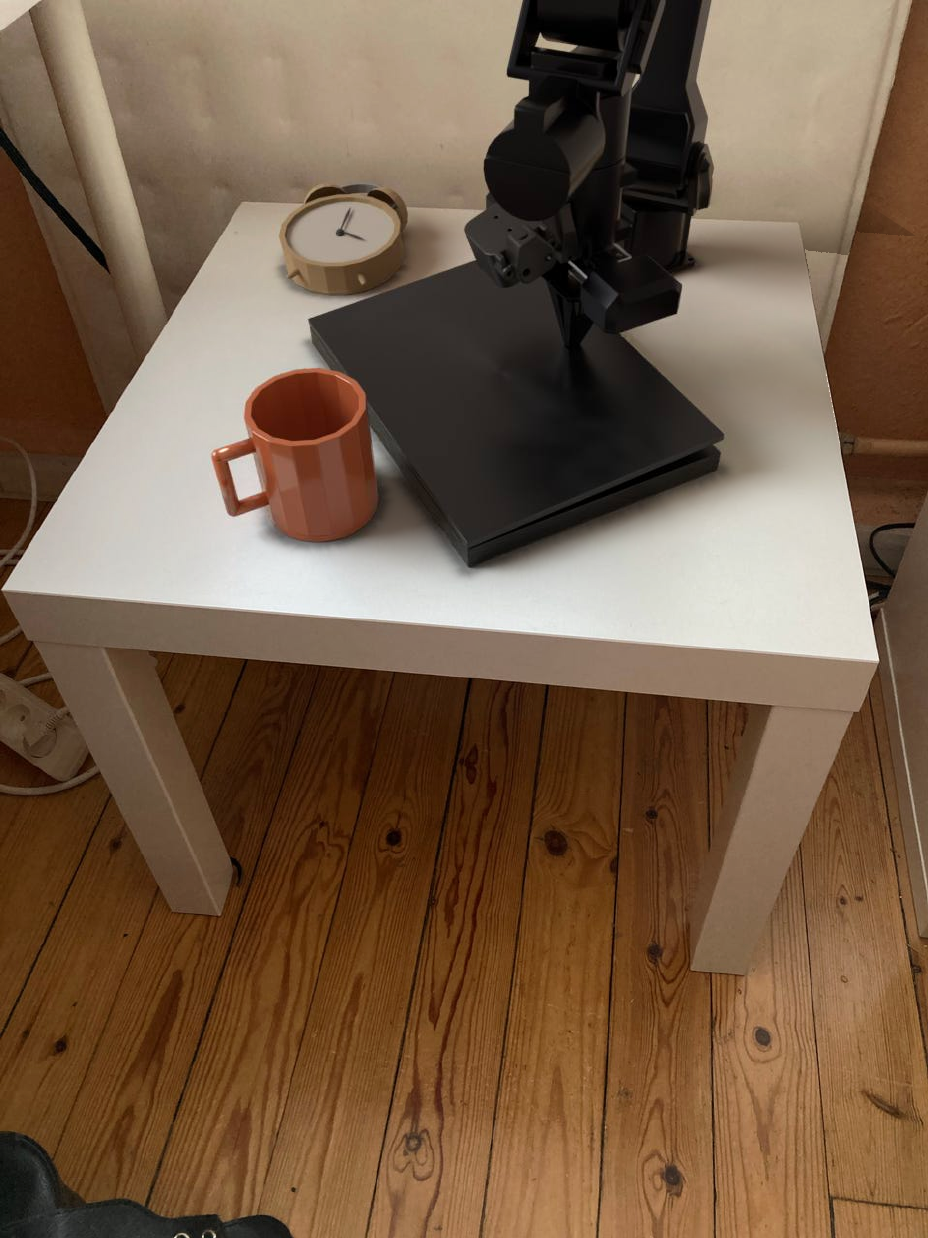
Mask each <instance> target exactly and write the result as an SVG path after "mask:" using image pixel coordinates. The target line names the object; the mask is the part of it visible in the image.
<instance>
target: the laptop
mask: <svg viewBox="0 0 928 1238" xmlns="http://www.w3.org/2000/svg"><path fill="white" fill-rule="evenodd" d="M309 332H310V337H311V342H312V343H311V344H312V346H314V348H315V349H316V350H317V352H318V354H319V356H321V358H322V359H323V361H324V362H325V364H326V365H327V366H328V368H329V370H333V371H338V372H341V373H343V372H342V370H341V369H340V367H339V366H338V365H337V363H336V362H335V360H334V359H333V357H332V356H331V355H330V353H329V352H328V350H327V349H326V348H325V346H324V345H323V343H322V342H321V340H320V339H319V338H318V336H317V335H316V333H315V332H314V331H313V329H312V328H311V326H310V325H309ZM343 374H344V373H343ZM368 414H369V422H370V429H371V430H372V431H373V432H374V434H375V436H376V437H377V438H378V440H379V441H380V442H381V444H382V445H383V447H384V448H385V450H386V451H387V452H388V454H389V455H390V457H391V458H392V460H393V461H394V463H395V464H396V465H397V467H398V468H399V470H400V471H401V473H402V474H403V475H404V477H405V478H406V480H407V482H409V484H410V486H411V487H412V489H413V490H414V491H415V493H416V494H417V496H418V497H419V498H420V500H421V502H422V503H423V504H424V505H425V507H426V508H427V510H428V511H429V513H430V514H431V516H432V517H433V519H434V520H435V521H436V523H437V525H438V526H439V527H440V529H441V530H442V531H443V533H444V534H445V536H446V537H447V539H448V540H449V542H450V543H451V544H452V546H453V548H454V549H455V551H457V553H458V554H459V556H460V557H461V559H462V560H463V562H464V563H465V564H466V566H467V568H472V567H473V566H476V565H478V564H482V563H484V562H486V561H489V560H491V559H494V558H496V557H500V556H502V555H504V554H506V553H509V552H511V551H514V550H517V549H520V548H521V547H525V546H527V545H529V544H533V543H535V542H538V541H540V540H543V539H545V538H548V537H550V536H553V535H556V534H558V533H560V532H563V531H567V530H568V529H570V528H574V527H576V526H578V525H581V524H582V523H583V524H584V523H586V522H589V521H591V520H594V519H596V518H599V517H601V516H603V515H607V514H609V513H612V512H614V511H617V510H620V509H621V508H625V507H627V506H630V505H632V504H635V503H638V502H640V501H642V500H645V499H648V498H650V497H653V496H656V495H657V494H660V493H663V492H665V491H669V490H671V489H674V488H675V487H678V486H681V485H683V484H686V483H689V482H690V481H694V480H696V479H699V478H701V477H703V476H706V475H708V474H712V473H713V472H716V471H718V469H719V465H720V461H721V457H722V451H721V450H720V449H719V448H718V447H717V446H716V445H715V444H713V445H711V446H708V447H706V448H704V449H701V450H699V451H697V452H694V453H692V454H690V455H687V456H685V457H682V458H680V459H678V460H675V461H673V462H671V463H668V464H666V465H664V466H661V467H659V468H657V469H654V470H652V471H650V472H647V473H645V474H642V475H640V476H638V477H635V478H633V479H631V480H628V481H626V482H624V483H621V484H619V485H617V486H614V487H612V488H609V489H607V490H605V491H602V492H600V493H598V494H595V495H593V496H591V497H588V498H586V499H584V500H581V501H579V502H576V503H574V504H572V505H569V506H567V507H565V508H562V509H560V510H558V511H555V512H553V513H551V514H548V515H546V516H543V517H541V518H539V519H536V520H534V521H532V522H529V523H527V524H525V525H522V526H520V527H518V528H515V529H513V530H510V531H508V532H506V533H503V534H501V535H499V536H496V537H494V538H492V539H489V540H487V541H485V542H482V543H480V544H478V545H475V546H473V547H470V548H467V547H466V545H465V544H464V543H463V541H462V540H461V538H460V537H459V536H458V534H457V533H456V531H455V530H454V529H453V527H452V526H451V524H450V523H449V521H448V520H447V519H446V517H445V516H444V514H443V513H442V512H441V510H440V509H439V507H438V506H437V504H436V503H435V502H434V500H433V499H432V497H431V496H430V495H429V493H428V492H427V490H426V489H425V488H424V486H423V485H422V483H421V482H420V480H419V479H418V478H417V476H416V475H415V473H414V472H413V471H412V469H411V468H410V466H409V465H408V463H407V462H406V461H405V459H404V458H403V456H402V455H401V454H400V452H399V451H398V449H397V448H396V447H395V445H394V444H393V442H392V441H391V439H390V438H389V437H388V435H387V434H386V432H385V431H384V430H383V428H382V427H381V425H380V424H379V422H378V421H377V420H376V418H375V417H374V415H373V414H372V413H371V411H370V410H369V408H368Z"/></svg>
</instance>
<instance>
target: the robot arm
mask: <svg viewBox="0 0 928 1238" xmlns="http://www.w3.org/2000/svg"><path fill="white" fill-rule="evenodd" d="M711 7H712V0H522V2H521V7H520V11H519V14H518V15H519V16H518V19H517V24H516V27H515V32H514V36H513V41H512V45H511V49H510V53H509V57H508V63H507V66H506V77H507V78H510V79H516V80H521V81H528V95H527V96H524V97H522V98H521V99H520V100H519V101H518V102H517V103H516V104H515V105H514V109H513V118H512V120H510V122H509V123H508V124H507V125H506V126H505V127H504V128H503V129H502V130H501V131H500V132H499V133H498V134H497V135H496V136H495V137H494V138H493V140H492V141H491V143H490V145H488V148H487V150H486V151H487V152H486V154H485V158H484V159H483V176H484V181H485V183H486V186H487V190H488V193H487V195H486V196H485V209H484V210H483V211H481V212H480V213H478V214H477V215H475V216H474V217H472V218H471V219H469V221H468V222H467V223H466V224H465V225H464V228H463V233H464V234H465V237H466V239H467V242H468V244H469V247H470V249H471V252H472V254H473V256H474V260H476V261H477V264H478V266H479V267H480V268H481V269H483V270H484V271H485V272H486V273H487V274H488V275H489V276H490V277H491V278H492V279H493V281H494V282H495V284H496V285H497V286H499V287H501V288H509V287H512V286H514V285H516V284H517V283H519V282H520V281H521V282H522V283H525V284H529V283H531V282H533V281H534V280H536V279H537V278H539V277H540V276H541V277H543V278H544V279H545V280H546V283H547V286H548V289H549V292H550V295H551V299H552V302H553V306H554V309H555V313H556V317H557V320H558V324H559V328H560V331H561V335H562V338H563V342H564V343H565V344H566V345H567V346H568V347H569V348H571V347H574V346H577V345H579V344H580V343H581V342H582V340H583V339H584V337H585V336H586V334H587V333H588V331H589V330H590V328H591V327H592V325H593V324H594V323H595V324H596V325H597V326H598V327H599V328H600V329H601V330H602V331H603V332H604V333H609V334H618V333H620V334H621V333H624V332H627V331H630V330H633V329H636V328H639V327H642V326H645V325H648V324H651V323H654V322H658V321H660V320H663V319H666V318H669V317H672V316H675V315H678V312H679V309H680V304H681V298H682V289H683V284H682V283H681V282H680V280H678V279H677V278H676V277H674V275H672V274H673V273H676V272H680V271H683V270H686V269H689V268H692V267H695V266H696V262H697V259H696V258H695V256H693V255H692V253H689V252H688V251H687V249H688V243H689V235H690V230H691V222H692V217H694V216H695V215H696V213H697V212H698V211H701V210H703V209H705V210H706V209H708V208H709V206H711V199H712V195H713V193H712V192H713V185H714V184H713V183H714V180H713V175H714V170H715V165H714V162H713V158H712V155H711V151H710V148H709V147H710V146H709V144H708V143H705V140H706V134H707V129H708V121H709V115H708V112H707V109H706V106H705V103H704V100H703V97H702V94H701V90H700V88H699V85H698V81H697V79H698V72H699V68H700V62H701V57H702V52H703V47H704V42H705V38H706V32H707V27H708V21H709V16H710V11H711ZM540 35H541V37H542V38H543V39H544V40H545V41H547V42H551V43H558V44H565V45H570V46H575V47H574V48H573V49H571V50H570V51H566V50H559V49H553V48H547V47H542V46H537V44H538V40H539V38H540ZM637 75H639V77H638V79H637V80H636V82H635V79H636V76H637ZM634 82H635V83H634ZM633 84H634V85H633Z"/></svg>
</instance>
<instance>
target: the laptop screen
mask: <svg viewBox="0 0 928 1238" xmlns="http://www.w3.org/2000/svg"><path fill="white" fill-rule="evenodd" d="M307 321H308V325H309V327H310V326H311V328H312V329H313V331H314V332H315V333H316V335H317V336H318V338H319V339H320V340H321V342H322V343H323V345H324V346H325V348H326V349H327V350H328V352H329V353H330V355H331V356H332V357H333V359H334V360H335V362H336V363H337V365H338V366H339V367H340V369H341V370H342V372H343V373H344V374H345V375H347V376H348V377H350V378H352V379H354V380H356V381H357V382H358V384H359V385H360V386H361V388H362V389H363V391H364V392H365V393H366V398H367V406H368V408H369V410H370V411H371V413H372V414H373V415H374V417H375V418H376V420H377V421H378V422H379V424H380V425H381V427H382V428H383V430H384V431H385V432H386V434H387V435H388V437H389V438H390V439H391V441H392V442H393V444H394V445H395V447H396V448H397V449H398V451H399V452H400V454H401V455H402V456H403V458H404V459H405V461H406V462H407V463H408V465H409V466H410V468H411V469H412V471H413V472H414V473H415V475H416V476H417V478H418V479H419V480H420V482H421V483H422V485H423V486H424V488H425V489H426V490H427V492H428V493H429V495H430V496H431V497H432V499H433V500H434V502H435V503H436V504H437V506H438V507H439V509H440V510H441V512H442V513H443V514H444V516H445V517H446V519H447V520H448V521H449V523H450V524H451V526H452V527H453V529H454V530H455V531H456V533H457V534H458V536H459V537H460V538H461V540H462V541H463V543H464V544H465V545H466V547H467V548H470V547H473V546H475V545H478V544H480V543H482V542H485V541H487V540H489V539H492V538H494V537H496V536H499V535H501V534H503V533H506V532H508V531H510V530H513V529H515V528H518V527H520V526H522V525H525V524H527V523H529V522H532V521H534V520H536V519H539V518H541V517H543V516H546V515H548V514H551V513H553V512H555V511H558V510H560V509H562V508H565V507H567V506H569V505H572V504H574V503H576V502H579V501H581V500H584V499H586V498H588V497H591V496H593V495H595V494H598V493H600V492H602V491H605V490H607V489H609V488H612V487H614V486H617V485H619V484H621V483H624V482H626V481H628V480H631V479H633V478H635V477H638V476H640V475H642V474H645V473H647V472H650V471H652V470H654V469H657V468H659V467H661V466H664V465H666V464H668V463H671V462H673V461H675V460H678V459H680V458H682V457H685V456H687V455H690V454H692V453H694V452H697V451H699V450H701V449H704V448H706V447H708V446H711V445H715V444H718V443H720V442H723V441H724V440H725V433H724V431H722V430H721V429H720V428H719V427H718V426H717V425H716V424H715V423H714V422H713V421H712V420H711V419H710V418H709V417H707V416H706V414H704V413H703V412H702V411H701V410H700V409H699V408H698V407H697V405H695V404H694V403H693V402H692V401H691V400H689V398H688V397H687V396H685V394H684V393H682V392H681V391H680V390H679V389H678V388H677V387H676V386H675V385H674V384H673V383H672V382H671V381H670V380H669V379H668V378H667V377H666V376H665V375H663V374H662V373H661V371H659V370H658V369H657V368H656V367H655V366H654V365H653V363H651V361H649V360H648V359H647V358H646V357H645V356H644V355H643V354H642V353H641V352H640V351H639V350H637V349H636V348H635V347H634V346H633V345H632V343H630V342H629V341H628V340H627V339H626V338H625V337H624V336H623V334H621V333H618V334H609V333H604V332H603V331H602V330H601V329H600V328H599V327H598V326H597V325H596V324H595V323H594V324H593V325H592V327H591V328H590V330H589V331H588V333H587V334H586V336H585V337H584V339H583V340H582V342H581V343H580V344H579V345H577V346H574V347H571V348H569V347H568V346H567V345H566V344H565V343H564V342H563V338H562V335H561V331H560V328H559V324H558V320H557V317H556V313H555V309H554V306H553V302H552V299H551V295H550V292H549V289H548V286H547V283H546V280H545V279H544V278H543V277H541V276H540V277H539V278H537V279H536V280H534V281H533V282H531V283H529V284H525V283H522V282H521V281H520V282H519V283H517V284H516V285H514V286H512V287H509V288H501V287H499V286H497V285H496V284H495V282H494V281H493V279H492V278H491V277H490V276H489V275H488V274H487V273H486V272H485V271H484V270H483V269H481V268H480V267H479V266H478V264H477V261H476V259H474V260H471V261H467V262H466V263H463V264H460V265H457V266H454V267H452V268H448V269H445V270H443V271H440V272H438V273H434V274H432V275H429V276H426V277H424V278H420V279H417V280H415V281H412V282H409V283H406V284H403V285H401V286H397V287H394V288H391V289H388V290H386V291H384V292H380V293H378V294H375V295H372V296H369V297H366V298H364V299H361V300H358V301H355V302H352V303H349V304H346V305H344V306H341V307H338V308H335V309H333V310H329V311H326V312H323V313H321V314H318V315H315V316H312V317H310V318H308V319H307Z"/></svg>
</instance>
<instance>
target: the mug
mask: <svg viewBox="0 0 928 1238" xmlns="http://www.w3.org/2000/svg"><path fill="white" fill-rule="evenodd" d="M243 420H244V423H245V429H246V431H247V436H248V438H246V439H243V440H240V441H236V442H233V443H231V444H228V445H224V446H221V447H218V448H216V449H214V450H213V451H212V452H211V454H210V458H211V459H210V460H211V462H212V465H213V469H214V472H215V476H216V479H217V482H218V486H219V490H220V494H221V496H222V500H223V503H224V507H225V510H226V513H227V515H229V516H230V517H232V518H235V517H239V516H241V515H244V514H247V513H251V512H252V511H255V510H259V509H262V508H264V507H265V508H266V511H267V514H268V517H269V520H270V521H271V522H272V524H273V525H274V527H275V528H276V529H277V530H279V531H280V532H281V533H283V534H284V535H285V536H288V537H290V538H292V539H295V540H299V541H303V542H310V543H311V542H312V543H323V542H331V541H336V540H339V539H342V538H345V537H348V536H350V535H352V534H353V533H355V532H357V531H359V530H360V529H362V528H363V527H365V525H367V524H368V523H369V521H370V520H372V518H373V516H374V515H375V513H376V511H377V508H378V505H379V498H380V497H379V489H378V488H379V487H378V478H377V477H378V476H377V470H376V463H375V454H374V453H375V452H374V446H373V445H374V444H373V437H372V429H371V427H370V422H369V414H368V406H367V398H366V393H365V392H364V391H363V389H362V388H361V386H360V385H359V384H358V382H357V381H356V380H354V379H352V378H350V377H348V376H347V375H345V374H343V373H341V372H338V371H333V370H331V369H326V368H321V367H313V368H312V367H311V368H297V369H292V370H289V371H286V372H283V373H280V374H276V375H274V376H272V377H270V378H269V379H267V380H265V381H263V382H262V383H261V384H260V385H258V386H256V387H255V388H254V390H253V391H252V392H251V394H250V395H249V397H248V398H247V399H246V400H245V403H244V412H243ZM251 454H252V456H253V461H254V464H255V465H254V466H255V469H256V472H257V473H256V474H257V476H258V481H259V484H260V489H261V492H259V493H256V494H252V495H250V496H247V497H245V498H241V499H239V497H238V493H237V490H236V489H237V488H236V485H235V482H234V479H233V475H232V471H231V468H230V464H229V462H230V461H234V460H237V459H239V458H242V457H245V456H248V455H251Z"/></svg>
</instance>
